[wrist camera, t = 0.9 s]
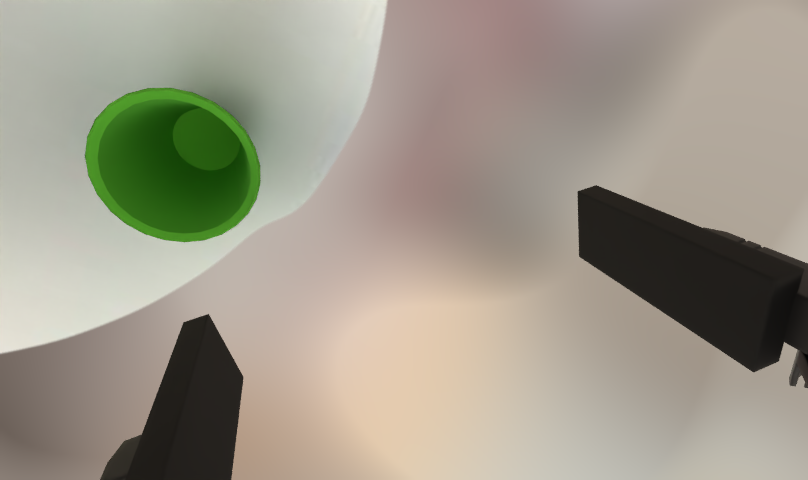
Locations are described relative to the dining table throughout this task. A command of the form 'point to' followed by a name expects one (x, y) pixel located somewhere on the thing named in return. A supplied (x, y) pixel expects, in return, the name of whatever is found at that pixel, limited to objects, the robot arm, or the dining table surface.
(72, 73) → the dining table surface
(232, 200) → the cup
